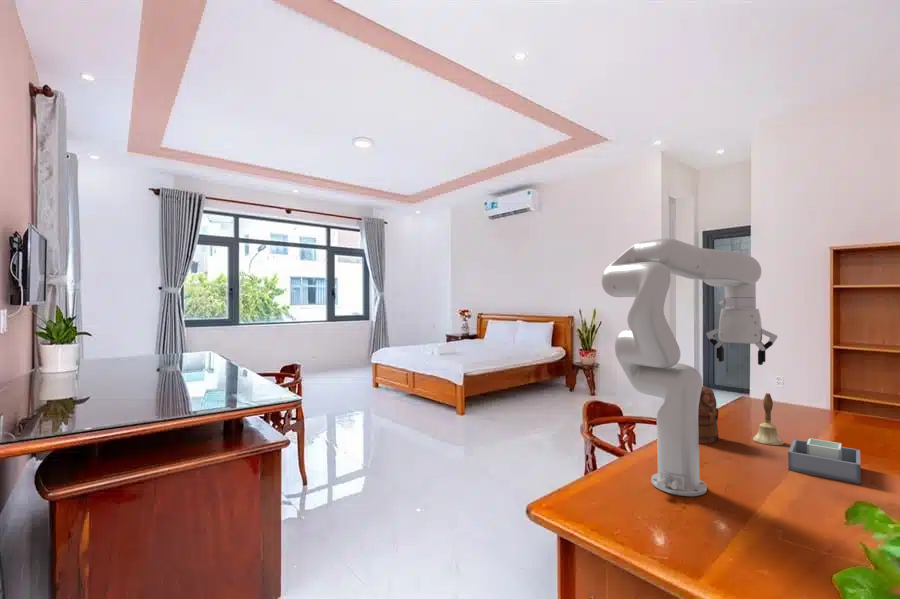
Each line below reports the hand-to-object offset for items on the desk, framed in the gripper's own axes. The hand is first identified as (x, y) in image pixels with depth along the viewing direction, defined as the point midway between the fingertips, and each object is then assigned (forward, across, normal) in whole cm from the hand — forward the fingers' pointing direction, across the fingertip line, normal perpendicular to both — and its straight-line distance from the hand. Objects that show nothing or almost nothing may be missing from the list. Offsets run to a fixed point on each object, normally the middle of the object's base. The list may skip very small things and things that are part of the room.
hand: (740, 362), depth 126 cm
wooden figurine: (+29, -13, +17) cm, 36 cm away
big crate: (+29, +18, +11) cm, 35 cm away
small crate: (+28, +18, +11) cm, 35 cm away
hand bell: (+29, +2, +28) cm, 41 cm away
